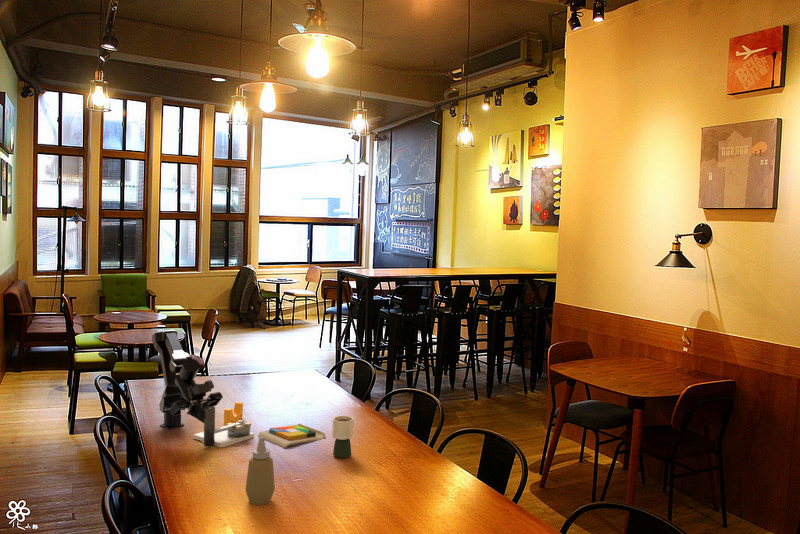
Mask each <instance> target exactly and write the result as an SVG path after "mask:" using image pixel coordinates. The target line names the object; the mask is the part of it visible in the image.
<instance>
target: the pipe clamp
mask: <svg viewBox="0 0 800 534" xmlns="http://www.w3.org/2000/svg"><path fill="white" fill-rule="evenodd" d="M243 404H244V402H242V401H235V402H234V408H224V409H223V426H226V425H227V423H235V422H236V421H238V420H239V419H240V420H242V419H243V418H242V417H243V415H244V413H243V411H244V409H243V407H244V405H243ZM236 423H237V422H236Z"/></svg>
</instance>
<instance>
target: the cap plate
mask: <svg viewBox="0 0 800 534" xmlns="http://www.w3.org/2000/svg"><path fill="white" fill-rule="evenodd" d="M219 427H220V426H219ZM219 427H217V428H219ZM253 437H255V433H254V432H251V431H250V434H249V435H248V436H245V437H230V436H228V435H227V430H226V431H222V432H219V433H215V442H214V445H215V446H214V447H216V446H217V448H219V447H220V449H221V447H222V448H224V447H228V446H231V445H233V444H237V443H240V442H243V441H246V440H250V439H252V438H253ZM193 439H194V440H196V439H197V441H199V440H200V442H202V441H203V442H202V443H204V431H200V432H197V433H194V434H193Z"/></svg>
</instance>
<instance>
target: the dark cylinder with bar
mask: <svg viewBox="0 0 800 534" xmlns="http://www.w3.org/2000/svg"><path fill="white" fill-rule="evenodd" d="M251 426H252V422H245V421H244V420H243V419H240V420H238V421H237V422H236V423H227V425H226V426H224V425H223V426H219V428H218V427H216V406H214V407H212V406H209V407H205V408H204V423H203V432H204V442H203V447H208V448H209V447H211V448H212V447H215V446H214V442H215V433H219V432H222V431H226V430H227V435H228V436H230V437H245V436H248V435H249V434H250V432H251Z"/></svg>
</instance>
